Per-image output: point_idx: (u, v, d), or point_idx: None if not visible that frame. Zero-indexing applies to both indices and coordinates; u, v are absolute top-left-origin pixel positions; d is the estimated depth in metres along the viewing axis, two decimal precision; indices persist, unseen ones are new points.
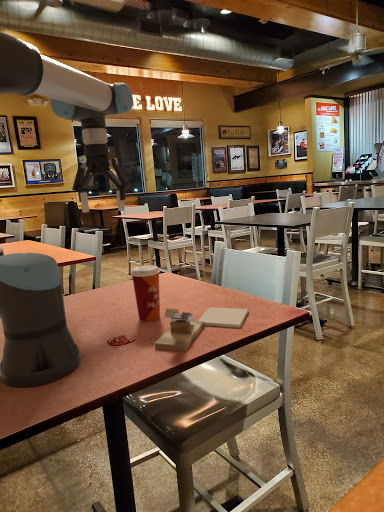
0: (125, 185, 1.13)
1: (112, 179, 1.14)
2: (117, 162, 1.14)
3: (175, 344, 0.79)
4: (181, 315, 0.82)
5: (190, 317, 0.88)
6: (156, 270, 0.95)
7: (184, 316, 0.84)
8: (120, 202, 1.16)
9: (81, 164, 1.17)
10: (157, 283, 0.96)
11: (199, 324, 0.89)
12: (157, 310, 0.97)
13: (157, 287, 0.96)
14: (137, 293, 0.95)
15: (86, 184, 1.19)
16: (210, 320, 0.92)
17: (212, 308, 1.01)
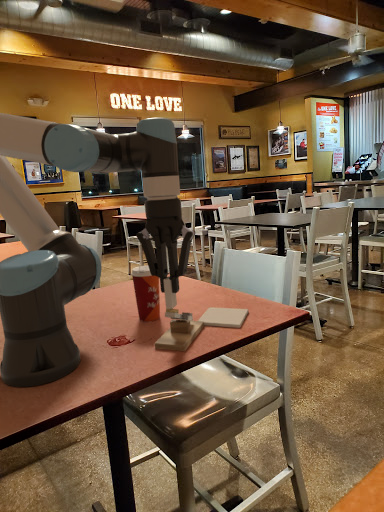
0: (180, 274, 0.76)
1: (170, 259, 0.76)
2: (191, 238, 0.76)
3: (175, 344, 0.79)
4: (181, 315, 0.82)
5: (190, 317, 0.88)
6: None
7: (184, 316, 0.84)
8: (172, 296, 0.78)
9: (142, 234, 0.78)
10: (157, 283, 0.96)
11: (199, 324, 0.89)
12: (157, 310, 0.97)
13: (157, 287, 0.96)
14: (137, 293, 0.95)
15: (165, 261, 0.78)
16: (210, 320, 0.92)
17: (212, 308, 1.01)
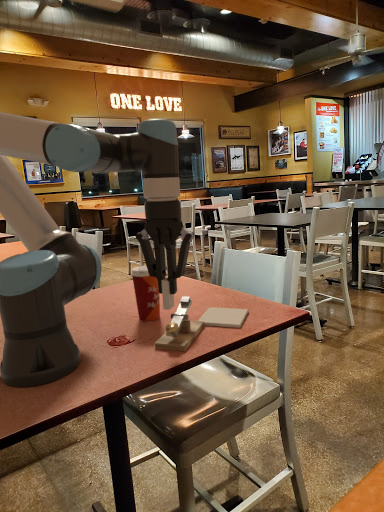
0: (179, 275, 0.76)
1: (169, 261, 0.76)
2: (190, 240, 0.76)
3: (175, 344, 0.79)
4: (181, 323, 0.82)
5: (189, 304, 0.88)
6: None
7: (184, 318, 0.84)
8: (169, 297, 0.79)
9: (141, 235, 0.78)
10: (157, 283, 0.96)
11: (199, 324, 0.89)
12: (157, 310, 0.97)
13: (157, 287, 0.96)
14: (137, 293, 0.95)
15: (163, 262, 0.78)
16: (210, 320, 0.92)
17: (212, 308, 1.01)
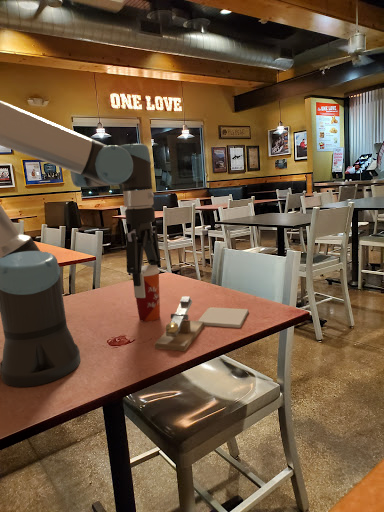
0: None
1: None
2: (131, 239, 0.89)
3: (175, 344, 0.79)
4: (181, 323, 0.82)
5: (189, 304, 0.88)
6: (156, 270, 0.95)
7: (184, 318, 0.84)
8: (135, 287, 0.93)
9: None
10: (157, 283, 0.96)
11: (199, 324, 0.89)
12: (157, 310, 0.97)
13: (157, 287, 0.96)
14: None
15: (150, 254, 0.99)
16: (210, 320, 0.92)
17: (212, 308, 1.01)
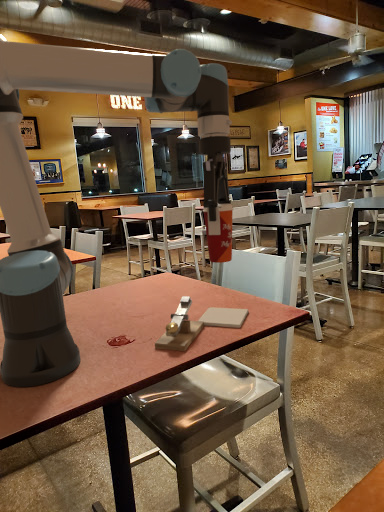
0: (204, 203, 0.83)
1: None
2: (210, 168, 0.82)
3: (175, 344, 0.79)
4: (181, 323, 0.82)
5: (189, 304, 0.88)
6: (231, 206, 0.88)
7: (184, 318, 0.84)
8: (210, 223, 0.86)
9: None
10: (231, 221, 0.89)
11: (199, 324, 0.89)
12: (230, 251, 0.90)
13: (231, 225, 0.89)
14: None
15: (221, 192, 0.92)
16: (210, 320, 0.92)
17: (212, 308, 1.01)
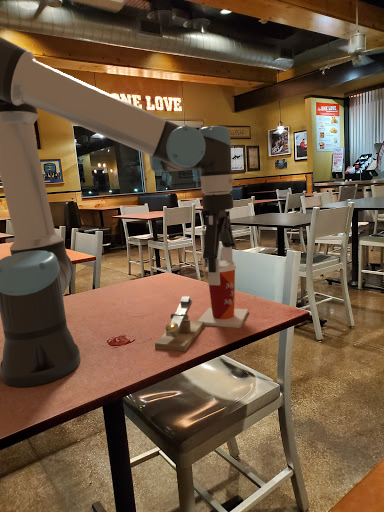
0: (204, 255, 0.83)
1: None
2: (212, 222, 0.84)
3: (175, 344, 0.79)
4: (181, 323, 0.82)
5: (189, 304, 0.88)
6: (233, 265, 0.91)
7: (184, 318, 0.84)
8: (210, 274, 0.86)
9: None
10: (234, 279, 0.92)
11: (199, 324, 0.89)
12: (233, 307, 0.93)
13: (234, 283, 0.92)
14: (213, 289, 0.91)
15: (225, 239, 0.96)
16: (210, 320, 0.92)
17: None
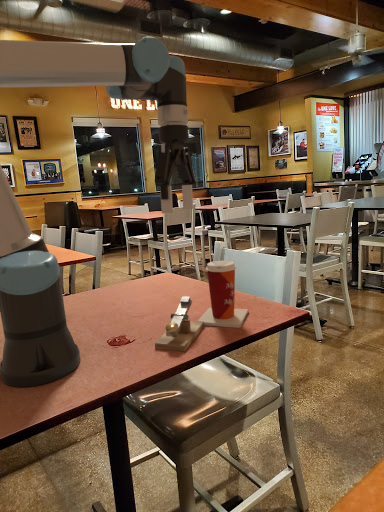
0: (155, 180, 0.86)
1: None
2: (164, 149, 0.86)
3: (175, 344, 0.79)
4: (181, 323, 0.82)
5: (189, 304, 0.88)
6: (233, 265, 0.91)
7: (184, 318, 0.84)
8: (163, 202, 0.89)
9: None
10: (234, 279, 0.92)
11: (199, 324, 0.89)
12: (233, 307, 0.93)
13: (234, 283, 0.92)
14: (213, 289, 0.91)
15: (185, 175, 0.99)
16: (210, 320, 0.92)
17: None
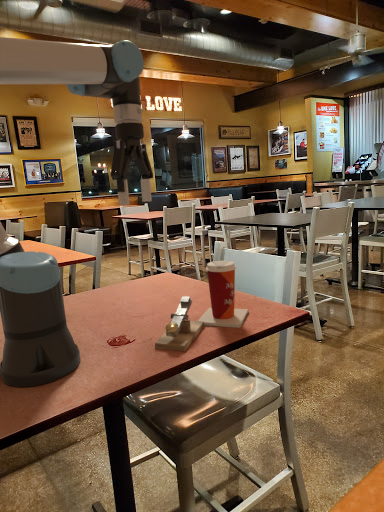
0: None
1: None
2: (119, 145, 0.93)
3: (175, 344, 0.79)
4: (181, 323, 0.82)
5: (189, 304, 0.88)
6: (233, 265, 0.91)
7: (184, 318, 0.84)
8: (119, 194, 0.95)
9: None
10: (234, 279, 0.92)
11: (199, 324, 0.89)
12: (233, 307, 0.93)
13: (234, 283, 0.92)
14: (213, 289, 0.91)
15: (142, 170, 1.05)
16: (210, 320, 0.92)
17: None
